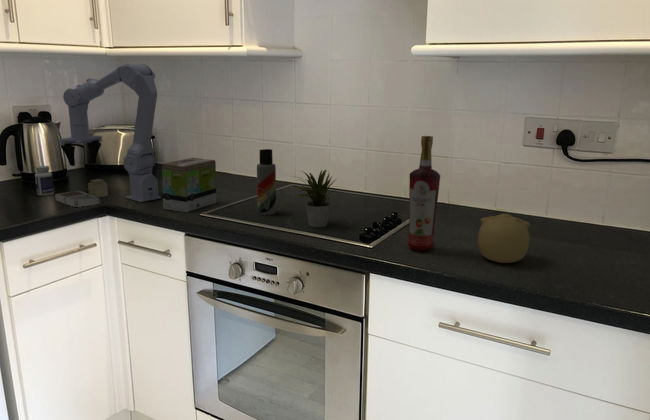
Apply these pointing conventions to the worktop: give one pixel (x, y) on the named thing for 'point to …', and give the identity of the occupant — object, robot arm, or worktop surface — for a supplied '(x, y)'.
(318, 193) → the house plant
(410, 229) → the liquor
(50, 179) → the pill bottle
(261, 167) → the lotion bottle
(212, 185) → the tea box
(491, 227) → the sculpture
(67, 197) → the grey flat frame
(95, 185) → the block
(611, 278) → the worktop surface
